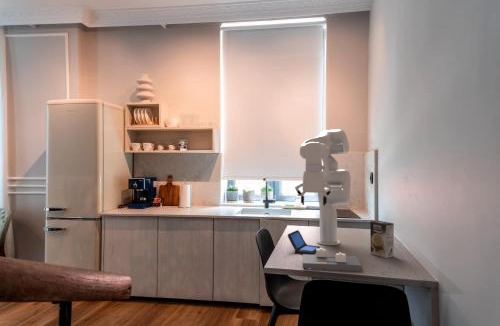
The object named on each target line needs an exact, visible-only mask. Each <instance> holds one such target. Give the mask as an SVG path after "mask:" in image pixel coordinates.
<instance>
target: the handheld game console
mask: <svg viewBox="0 0 500 326" xmlns="http://www.w3.org/2000/svg"><path fill="white" fill-rule="evenodd" d="M287 238H288V240H289V242H290V244H291V245H292V247H293V250H294V254H300V255H303V254H308V255H316V249H320V247H321V246H319V245H312V244H311V245H309V244H307V243H306V241H305V240H304V238H303V236H302V234H301V232H300V230H298V229H297V230H295V231H292V232H290V233H288V234H287Z"/></svg>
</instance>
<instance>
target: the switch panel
mask: <svg viewBox="0 0 500 326" xmlns="http://www.w3.org/2000/svg"><path fill="white" fill-rule="evenodd" d="M303 268H311V269H310V270H316V269H326V270H325V271H340V270H342V272H343V271H345V272H362V264H361V262H360V260H359V258H358V256H357V255H346V262H336V254H335V255H334V254H333V255H332V254H331V255H329V254H326V257H316V254H313V255H308V254H302V269H303Z"/></svg>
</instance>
